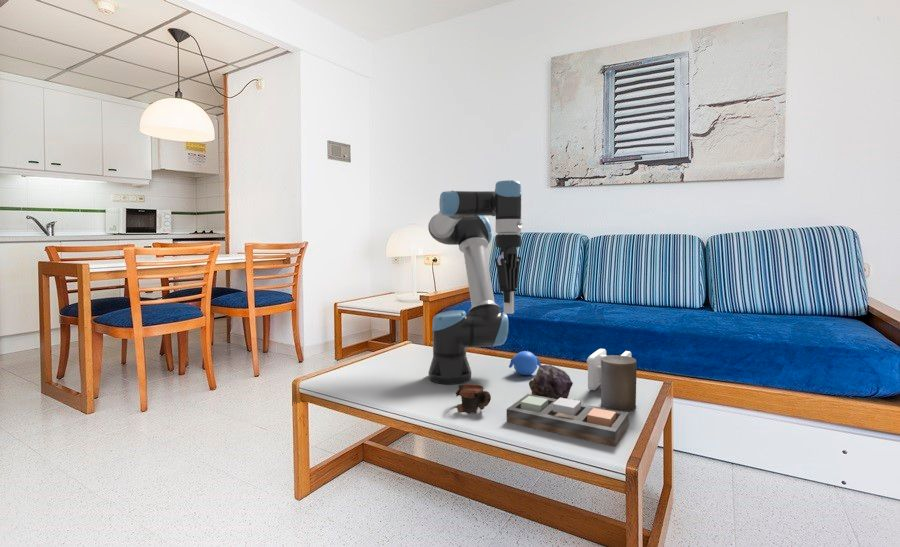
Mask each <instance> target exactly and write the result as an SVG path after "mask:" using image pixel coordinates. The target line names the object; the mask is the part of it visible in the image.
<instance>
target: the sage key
mask: <svg viewBox="0 0 900 547" xmlns="http://www.w3.org/2000/svg"><path fill="white" fill-rule="evenodd" d="M547 406H548V399H544V398H538V397H533V396H528V397H527V398H525V399H524V400H523V401H521V409H523V410H528V411H533V412H538V413H540V412H541V411H542V410H544V409H545V408H546V407H547Z"/></svg>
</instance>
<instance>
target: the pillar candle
mask: <svg viewBox="0 0 900 547" xmlns="http://www.w3.org/2000/svg"><path fill="white" fill-rule="evenodd" d="M621 355H622V354H619V355H617V354H616V355H614V354H612V355H611V354H610V355H606V356H604V357H602V358H601V385H600V405H601V407H602V408H607V409H613V410H618V411H624V412H631V411H634V410H636V409H637V359H636V358H634V357H632V356H631V357H628V356H621Z"/></svg>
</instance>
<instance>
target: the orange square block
mask: <svg viewBox="0 0 900 547" xmlns="http://www.w3.org/2000/svg"><path fill="white" fill-rule="evenodd" d="M615 420H616V412H614V411H608V410H603V409H598V408H593V409H592V410H591V411H590V412H589V413H588V415H587V423H592V424H597V425H601V426H606V427H611V426H612V424H613V423H614V422H615Z"/></svg>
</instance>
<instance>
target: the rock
mask: <svg viewBox="0 0 900 547" xmlns="http://www.w3.org/2000/svg"><path fill="white" fill-rule="evenodd" d="M573 384H574V383H573V381H572V380H571V378H570V375H569V374H568V373H567V372H566V371H565V370H563V369H560V368H559V367H556V366H553V365H552V364H541V365H540V366H538V368H537V370H536V374H535V377H534V378H533V379H531V380H529V382H528V385H529V390H530V391H531V395H537V396H542V397H548V398H553V399H559V398H566V399H569V395H570V391H571V388H572V386H573Z"/></svg>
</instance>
